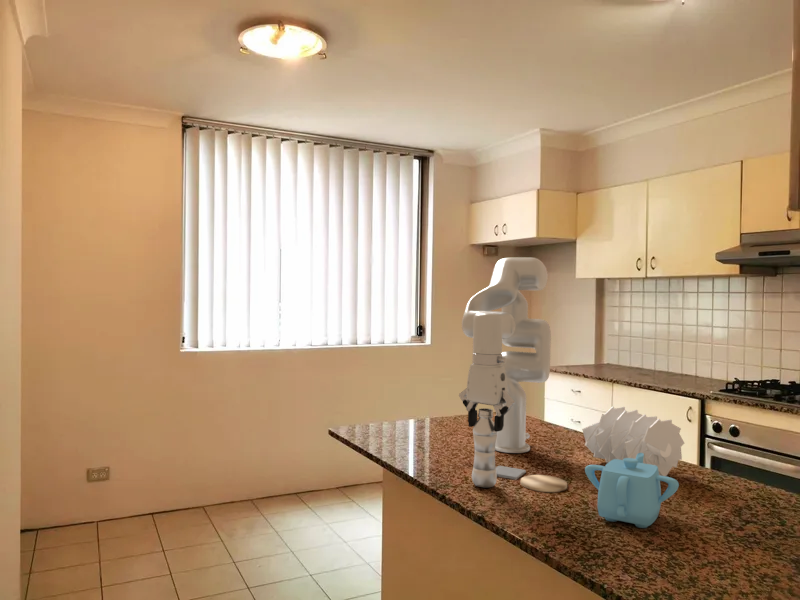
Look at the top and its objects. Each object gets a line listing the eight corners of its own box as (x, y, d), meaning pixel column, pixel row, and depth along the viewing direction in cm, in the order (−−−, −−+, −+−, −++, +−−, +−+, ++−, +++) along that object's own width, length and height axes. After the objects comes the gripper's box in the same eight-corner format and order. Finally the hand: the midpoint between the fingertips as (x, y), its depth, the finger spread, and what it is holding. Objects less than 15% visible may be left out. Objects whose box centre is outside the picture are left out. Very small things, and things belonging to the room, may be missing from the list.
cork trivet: (533, 475, 168) (533, 472, 168) (574, 484, 161) (574, 481, 161) (512, 485, 159) (512, 482, 159) (555, 495, 151) (555, 492, 151)
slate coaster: (498, 467, 175) (498, 465, 174) (525, 472, 171) (525, 470, 171) (488, 474, 168) (488, 472, 168) (516, 479, 164) (516, 477, 164)
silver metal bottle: (481, 491, 153) (483, 413, 153) (466, 484, 159) (468, 408, 159) (501, 488, 156) (503, 411, 156) (486, 481, 162) (488, 406, 162)
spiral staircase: (614, 471, 187) (678, 493, 164) (572, 450, 182) (632, 469, 159) (634, 416, 191) (699, 430, 168) (592, 394, 185) (654, 405, 162)
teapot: (684, 532, 130) (686, 469, 130) (612, 533, 128) (614, 470, 128) (640, 502, 148) (642, 447, 148) (576, 503, 146) (578, 448, 146)
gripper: (524, 362, 155) (522, 431, 155) (466, 356, 166) (465, 421, 166) (509, 364, 149) (507, 436, 149) (451, 358, 160) (449, 425, 160)
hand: (485, 427), depth 157 cm, fingers open, 7 cm apart
